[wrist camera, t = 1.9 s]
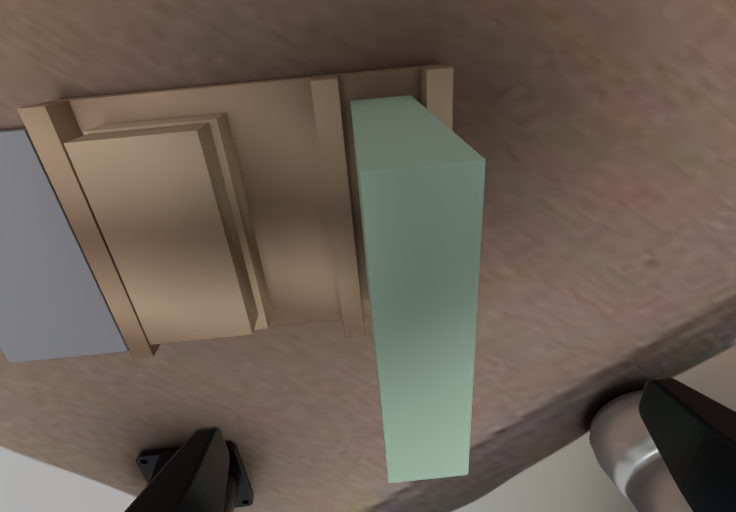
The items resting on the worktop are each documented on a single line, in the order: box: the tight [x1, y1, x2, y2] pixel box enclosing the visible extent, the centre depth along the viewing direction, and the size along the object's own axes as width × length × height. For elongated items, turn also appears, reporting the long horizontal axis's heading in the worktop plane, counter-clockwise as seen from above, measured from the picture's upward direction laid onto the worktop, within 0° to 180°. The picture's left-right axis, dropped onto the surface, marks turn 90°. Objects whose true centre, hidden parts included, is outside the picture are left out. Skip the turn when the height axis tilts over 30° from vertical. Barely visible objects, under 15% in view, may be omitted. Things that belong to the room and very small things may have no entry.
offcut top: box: [64, 123, 258, 345], centre depth 17 cm, size 9×5×2 cm, turn 4°
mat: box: [0, 128, 129, 363], centre depth 20 cm, size 12×6×1 cm, turn 4°
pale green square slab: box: [350, 95, 486, 483], centre depth 15 cm, size 10×2×10 cm, turn 4°
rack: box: [17, 64, 453, 358], centre depth 19 cm, size 12×16×2 cm
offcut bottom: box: [84, 113, 273, 330], centre depth 19 cm, size 10×5×2 cm, turn 4°
